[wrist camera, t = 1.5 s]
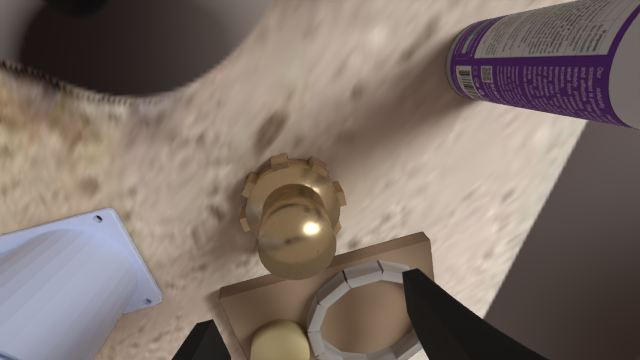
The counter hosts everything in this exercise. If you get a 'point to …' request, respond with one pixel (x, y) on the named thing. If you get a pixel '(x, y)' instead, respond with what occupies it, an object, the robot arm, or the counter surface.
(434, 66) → the counter surface
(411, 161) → the counter surface
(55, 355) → the robot arm
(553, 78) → the container
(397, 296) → the carrier board
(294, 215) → the planet gear
